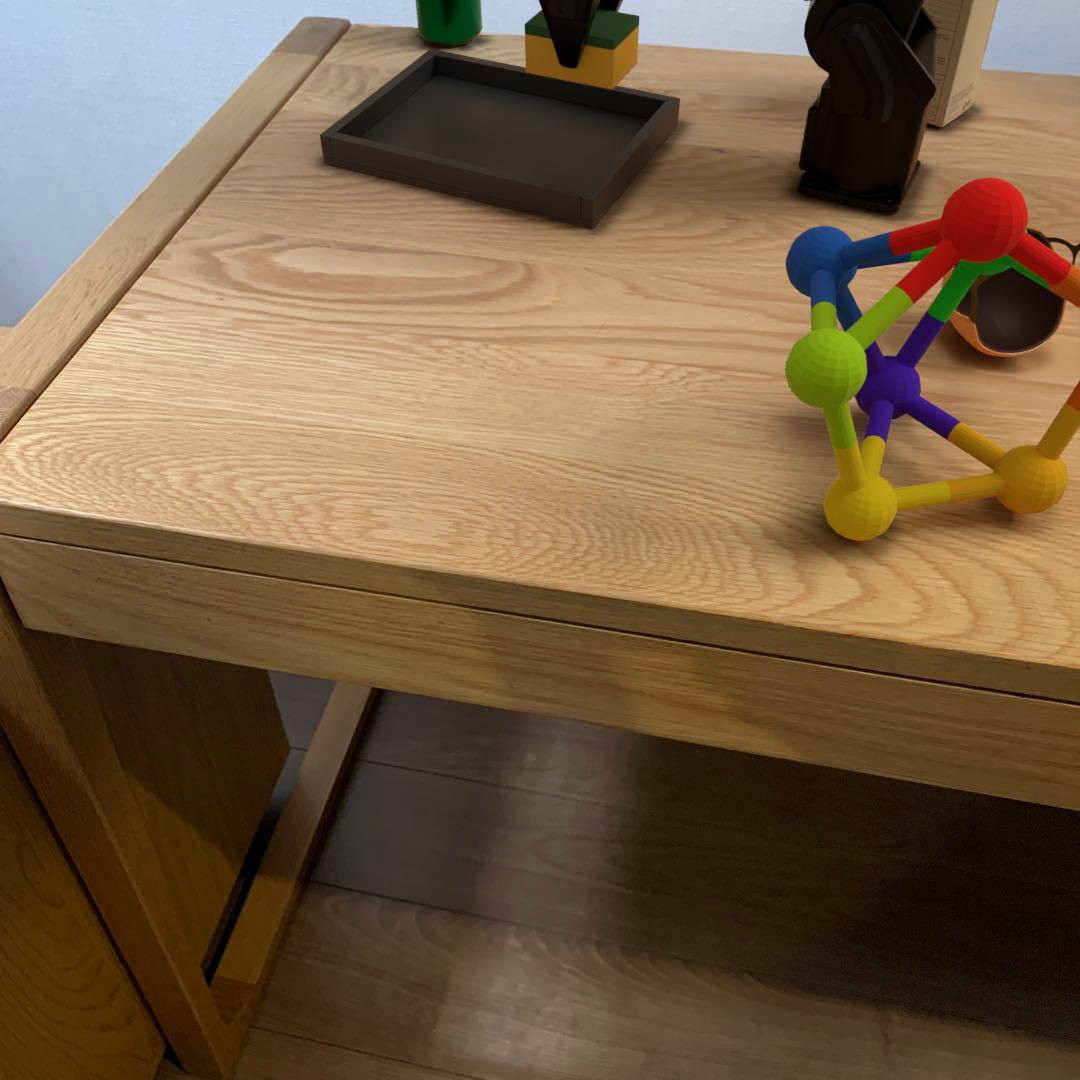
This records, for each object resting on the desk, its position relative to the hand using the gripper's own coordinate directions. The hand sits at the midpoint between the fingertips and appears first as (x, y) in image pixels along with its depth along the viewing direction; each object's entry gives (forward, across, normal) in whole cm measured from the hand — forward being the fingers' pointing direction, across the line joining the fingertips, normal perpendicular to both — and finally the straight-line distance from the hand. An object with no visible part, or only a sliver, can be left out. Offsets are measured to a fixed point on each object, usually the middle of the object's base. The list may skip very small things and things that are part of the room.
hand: (583, 53), depth 67 cm
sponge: (+1, 0, 0) cm, 1 cm away
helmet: (0, +13, +30) cm, 32 cm away
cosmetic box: (+7, -16, +19) cm, 25 cm away
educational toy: (+7, +22, +25) cm, 34 cm away
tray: (+6, +2, -5) cm, 8 cm away
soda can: (+7, -13, -17) cm, 22 cm away
